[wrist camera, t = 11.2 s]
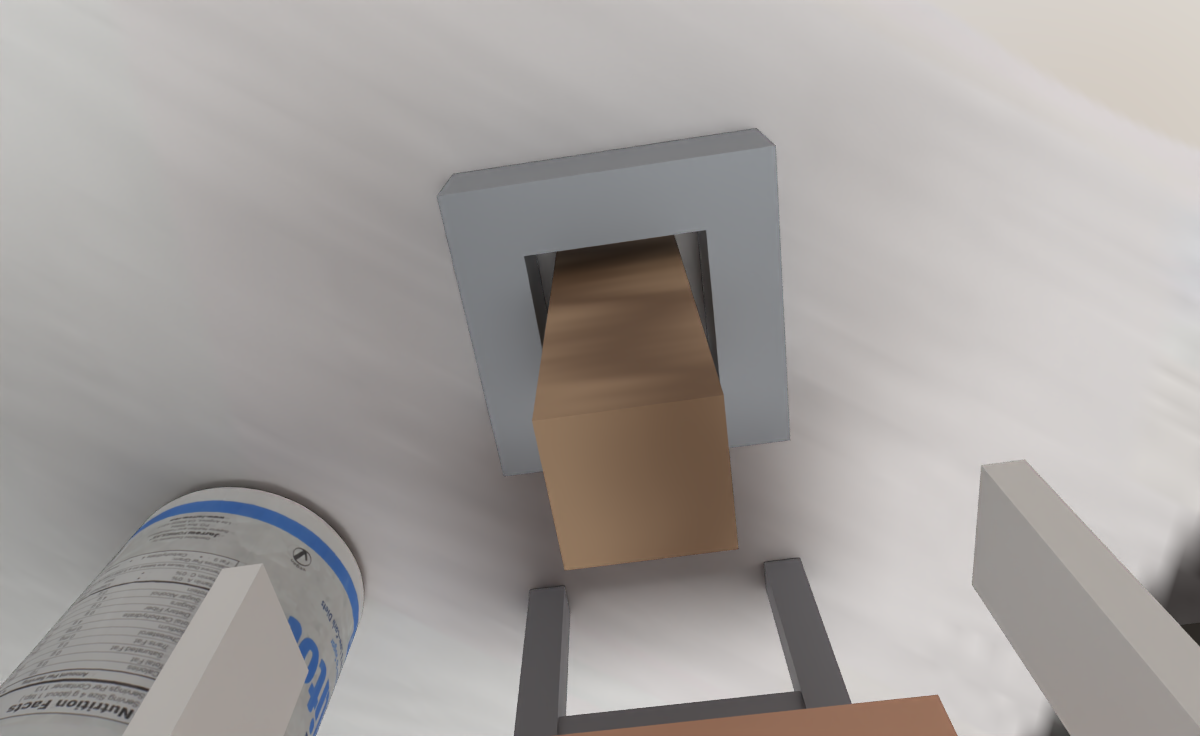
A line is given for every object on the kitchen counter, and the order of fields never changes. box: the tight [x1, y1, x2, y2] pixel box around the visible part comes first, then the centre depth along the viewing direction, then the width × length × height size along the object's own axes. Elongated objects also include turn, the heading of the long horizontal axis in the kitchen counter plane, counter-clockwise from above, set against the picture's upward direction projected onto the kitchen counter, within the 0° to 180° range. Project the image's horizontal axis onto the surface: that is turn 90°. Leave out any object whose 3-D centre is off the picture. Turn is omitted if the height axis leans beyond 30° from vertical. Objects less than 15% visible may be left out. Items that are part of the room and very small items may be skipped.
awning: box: [514, 558, 957, 736], centre depth 26 cm, size 12×9×15 cm
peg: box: [532, 235, 738, 570], centre depth 23 cm, size 4×4×12 cm
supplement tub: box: [0, 487, 364, 736], centre depth 27 cm, size 10×10×15 cm
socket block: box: [437, 128, 790, 476], centre depth 27 cm, size 10×10×3 cm
